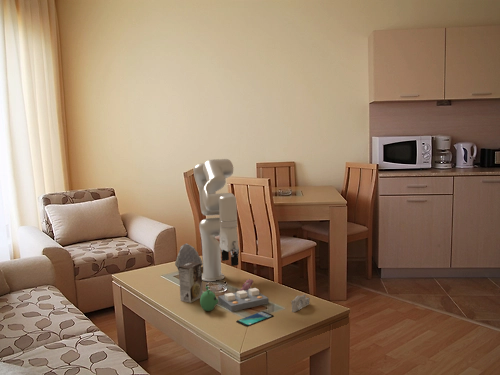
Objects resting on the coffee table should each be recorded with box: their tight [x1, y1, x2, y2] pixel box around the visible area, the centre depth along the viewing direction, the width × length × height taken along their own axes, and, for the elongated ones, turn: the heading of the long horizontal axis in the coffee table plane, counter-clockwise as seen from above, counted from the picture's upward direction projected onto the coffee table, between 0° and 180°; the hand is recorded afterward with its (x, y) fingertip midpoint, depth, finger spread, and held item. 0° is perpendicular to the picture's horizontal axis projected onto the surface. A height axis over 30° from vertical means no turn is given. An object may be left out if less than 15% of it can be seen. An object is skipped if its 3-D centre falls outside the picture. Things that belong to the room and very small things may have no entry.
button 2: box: [248, 287, 260, 296], centre depth 210 cm, size 4×4×3 cm
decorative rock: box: [174, 243, 203, 271], centre depth 259 cm, size 16×7×15 cm, turn 118°
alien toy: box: [199, 286, 219, 312], centre depth 198 cm, size 7×8×10 cm
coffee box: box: [178, 262, 204, 304], centre depth 213 cm, size 9×6×16 cm
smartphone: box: [235, 310, 275, 328], centre depth 188 cm, size 7×1×15 cm
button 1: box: [223, 292, 235, 301], centre depth 205 cm, size 4×4×3 cm
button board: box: [217, 290, 270, 312], centre depth 207 cm, size 14×18×3 cm
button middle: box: [235, 290, 247, 299], centre depth 207 cm, size 4×4×3 cm
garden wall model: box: [290, 293, 311, 313], centre depth 198 cm, size 12×2×6 cm, turn 139°
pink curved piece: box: [238, 278, 254, 291], centre depth 221 cm, size 10×5×7 cm, turn 169°
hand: (230, 262), depth 203 cm, fingers open, 9 cm apart
